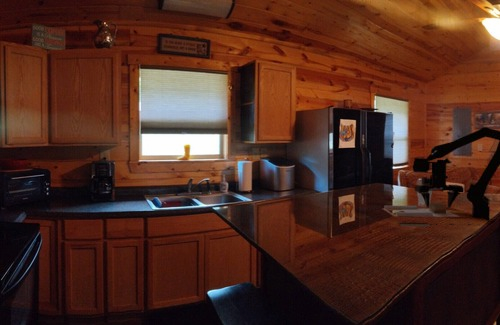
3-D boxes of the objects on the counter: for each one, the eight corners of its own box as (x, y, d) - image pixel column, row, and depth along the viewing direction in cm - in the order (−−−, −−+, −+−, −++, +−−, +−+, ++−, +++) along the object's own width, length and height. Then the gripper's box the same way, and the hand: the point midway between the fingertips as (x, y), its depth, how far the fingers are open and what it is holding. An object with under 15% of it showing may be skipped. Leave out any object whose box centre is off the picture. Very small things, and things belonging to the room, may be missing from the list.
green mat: (429, 226, 129) (429, 224, 128) (400, 226, 129) (400, 224, 129) (417, 219, 139) (417, 218, 139) (391, 219, 140) (391, 217, 140)
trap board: (460, 220, 138) (460, 213, 138) (394, 219, 140) (394, 212, 140) (439, 211, 155) (440, 205, 155) (382, 211, 157) (382, 205, 157)
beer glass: (428, 207, 166) (428, 178, 165) (434, 210, 159) (435, 179, 158) (414, 207, 167) (414, 178, 166) (419, 210, 160) (420, 179, 159)
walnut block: (446, 213, 144) (446, 204, 144) (434, 213, 145) (434, 204, 145) (440, 211, 149) (440, 202, 149) (429, 211, 150) (429, 202, 150)
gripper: (450, 171, 153) (450, 204, 154) (410, 171, 155) (409, 204, 155) (464, 173, 142) (463, 208, 143) (420, 174, 143) (419, 208, 144)
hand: (438, 207), depth 147 cm, fingers open, 9 cm apart
